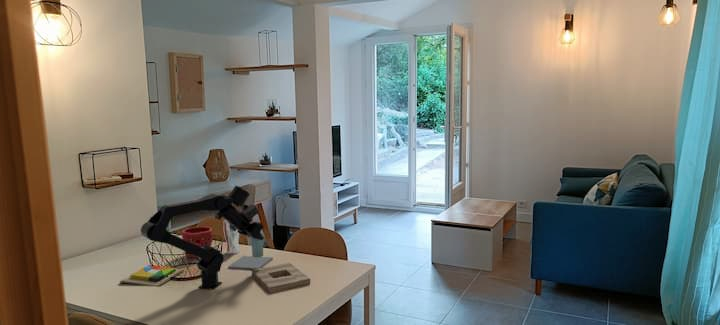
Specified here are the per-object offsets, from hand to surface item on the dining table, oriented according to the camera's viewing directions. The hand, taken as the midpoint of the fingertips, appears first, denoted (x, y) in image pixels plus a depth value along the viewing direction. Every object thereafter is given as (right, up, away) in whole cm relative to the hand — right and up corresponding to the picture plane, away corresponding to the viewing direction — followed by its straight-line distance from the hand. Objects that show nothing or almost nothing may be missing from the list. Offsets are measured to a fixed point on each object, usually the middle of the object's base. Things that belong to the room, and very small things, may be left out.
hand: (259, 238), depth 205 cm
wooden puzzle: (-43, -16, -1) cm, 46 cm away
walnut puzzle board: (+10, -15, -8) cm, 20 cm away
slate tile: (-6, -13, +11) cm, 18 cm away
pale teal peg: (-1, -7, 0) cm, 7 cm away
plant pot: (-33, -12, +26) cm, 44 cm away
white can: (-18, -11, +28) cm, 35 cm away
